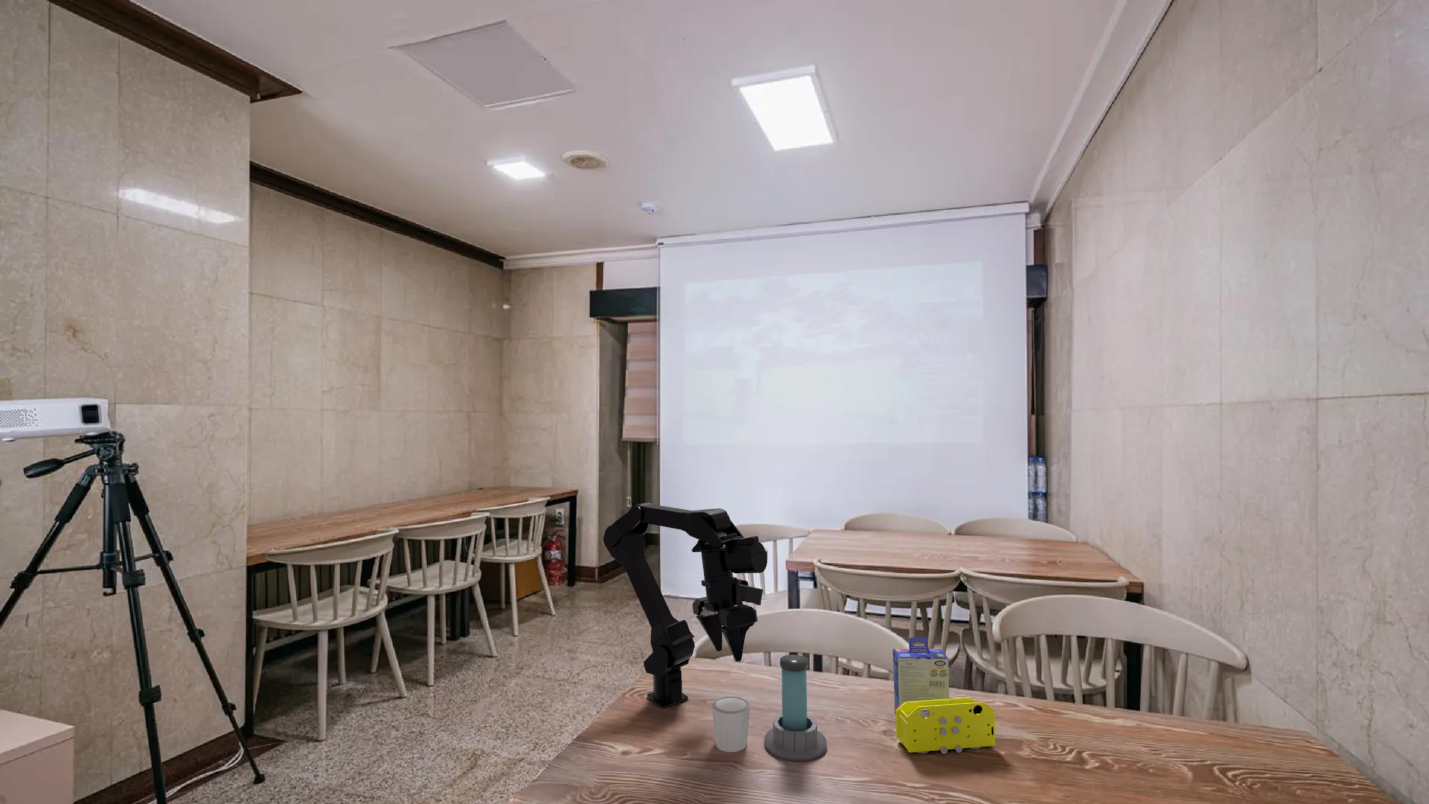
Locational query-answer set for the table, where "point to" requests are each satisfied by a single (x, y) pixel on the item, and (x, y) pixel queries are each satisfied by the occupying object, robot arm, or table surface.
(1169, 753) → the table surface
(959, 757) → the table surface
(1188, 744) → the table surface
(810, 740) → the ring mount
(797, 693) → the teal capped cylinder
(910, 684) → the ink cartridge box
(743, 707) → the shot glass
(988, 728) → the yellow toy chassis
